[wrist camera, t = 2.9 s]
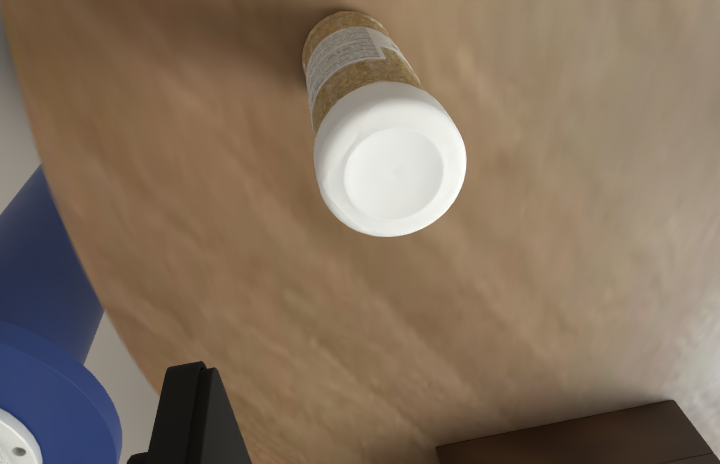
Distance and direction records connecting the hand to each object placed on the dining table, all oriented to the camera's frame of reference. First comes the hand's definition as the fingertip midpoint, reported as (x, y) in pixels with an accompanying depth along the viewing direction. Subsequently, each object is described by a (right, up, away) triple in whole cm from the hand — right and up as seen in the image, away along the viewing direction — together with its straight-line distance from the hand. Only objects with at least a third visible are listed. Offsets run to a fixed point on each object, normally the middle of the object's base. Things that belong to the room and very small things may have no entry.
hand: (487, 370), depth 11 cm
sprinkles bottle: (-3, +11, +19) cm, 22 cm away
